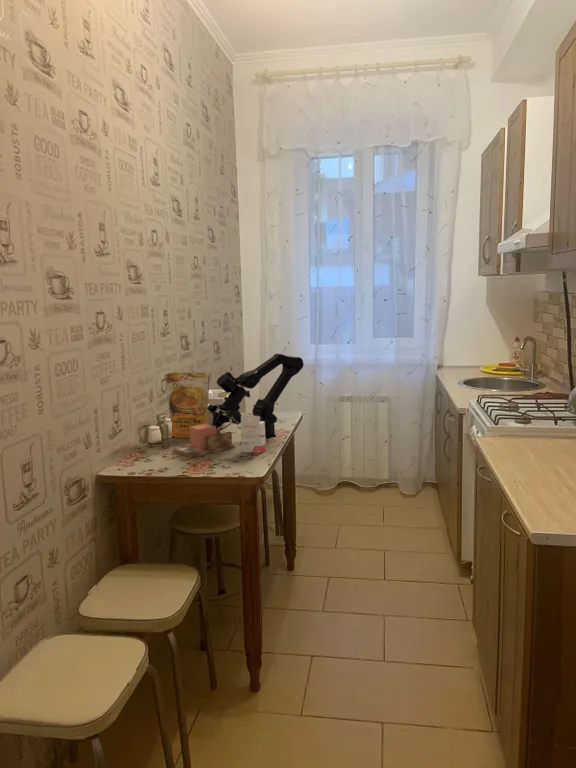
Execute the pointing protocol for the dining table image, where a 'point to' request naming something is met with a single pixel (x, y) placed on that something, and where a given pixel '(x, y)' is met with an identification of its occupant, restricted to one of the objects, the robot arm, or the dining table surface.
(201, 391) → the pancake mix bag
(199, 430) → the block
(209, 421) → the storage basket
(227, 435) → the chute
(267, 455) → the dining table surface
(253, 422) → the ink cartridge box
